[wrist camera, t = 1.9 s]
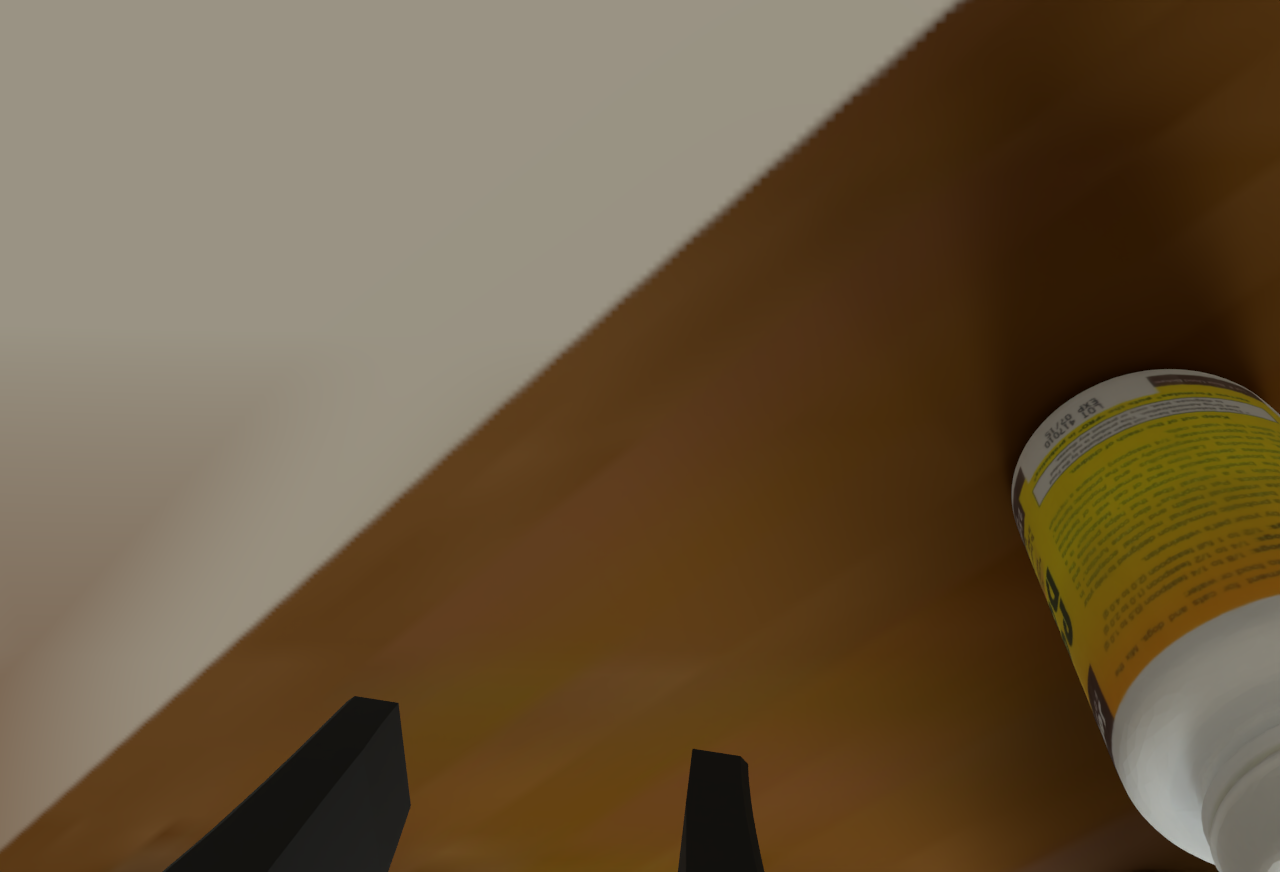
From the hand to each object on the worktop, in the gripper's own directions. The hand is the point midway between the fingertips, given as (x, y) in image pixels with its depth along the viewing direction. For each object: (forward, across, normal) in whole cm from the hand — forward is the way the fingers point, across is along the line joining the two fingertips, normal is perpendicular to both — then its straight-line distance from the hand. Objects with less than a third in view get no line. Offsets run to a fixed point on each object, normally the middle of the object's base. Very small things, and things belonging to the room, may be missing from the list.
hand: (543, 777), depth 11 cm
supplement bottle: (+11, -11, 0) cm, 15 cm away
